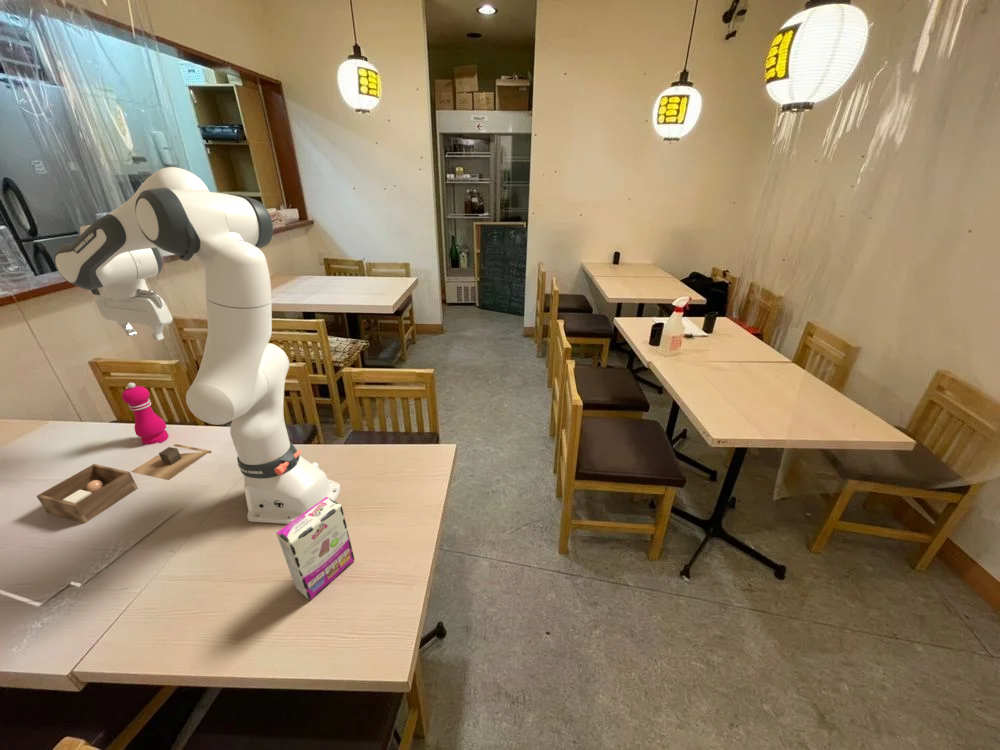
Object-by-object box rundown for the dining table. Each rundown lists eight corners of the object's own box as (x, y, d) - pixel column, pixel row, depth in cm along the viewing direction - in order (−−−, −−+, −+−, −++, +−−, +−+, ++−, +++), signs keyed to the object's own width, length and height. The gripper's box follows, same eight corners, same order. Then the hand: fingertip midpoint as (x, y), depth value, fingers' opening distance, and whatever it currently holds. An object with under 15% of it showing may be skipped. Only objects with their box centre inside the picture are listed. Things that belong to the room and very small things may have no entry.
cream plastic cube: (97, 503, 99) (90, 492, 97) (80, 513, 95) (73, 502, 94) (86, 500, 99) (79, 489, 98) (69, 510, 96) (62, 499, 95)
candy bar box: (340, 550, 88) (327, 494, 81) (355, 560, 86) (343, 504, 79) (293, 589, 80) (274, 531, 72) (309, 602, 78) (290, 543, 70)
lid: (212, 454, 118) (207, 441, 116) (170, 483, 107) (164, 469, 105) (177, 447, 121) (171, 434, 119) (132, 475, 110) (125, 461, 107)
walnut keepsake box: (139, 489, 104) (129, 472, 101) (86, 524, 93) (74, 505, 91) (104, 481, 106) (94, 463, 104) (48, 514, 96) (36, 496, 93)
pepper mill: (154, 448, 119) (127, 390, 110) (134, 445, 120) (106, 387, 111) (176, 434, 125) (152, 378, 116) (157, 431, 127) (132, 375, 118)
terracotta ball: (109, 488, 103) (103, 478, 102) (95, 496, 101) (89, 487, 99) (99, 485, 104) (94, 476, 103) (85, 494, 101) (80, 484, 100)
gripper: (168, 288, 104) (186, 337, 110) (109, 282, 108) (129, 329, 115) (144, 294, 99) (164, 345, 105) (82, 287, 103) (105, 337, 109)
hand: (145, 337), depth 110 cm, fingers open, 8 cm apart
